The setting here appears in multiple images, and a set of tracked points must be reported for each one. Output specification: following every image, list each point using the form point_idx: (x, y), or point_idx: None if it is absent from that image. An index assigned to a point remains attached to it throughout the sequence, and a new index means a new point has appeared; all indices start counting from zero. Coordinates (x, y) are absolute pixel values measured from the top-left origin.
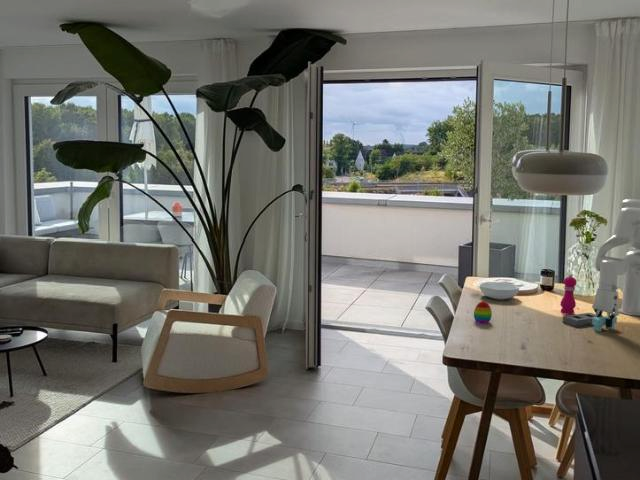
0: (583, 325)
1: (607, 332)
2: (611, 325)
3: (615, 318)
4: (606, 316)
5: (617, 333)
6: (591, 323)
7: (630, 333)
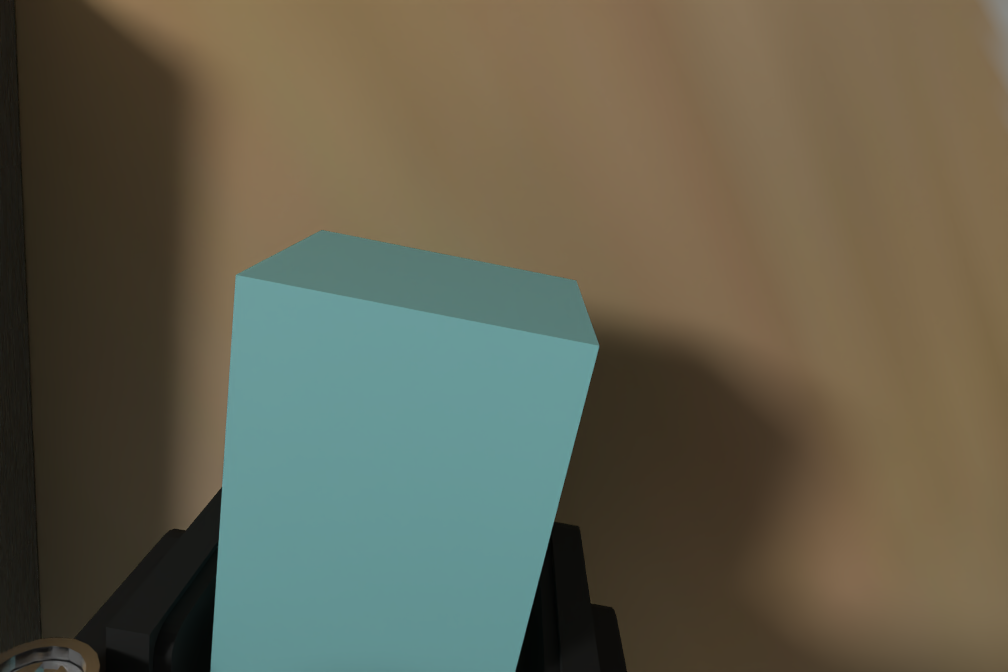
0: (34, 594)
1: None
2: (610, 619)
3: (575, 416)
4: (277, 581)
5: (748, 535)
6: (10, 392)
7: (964, 301)
